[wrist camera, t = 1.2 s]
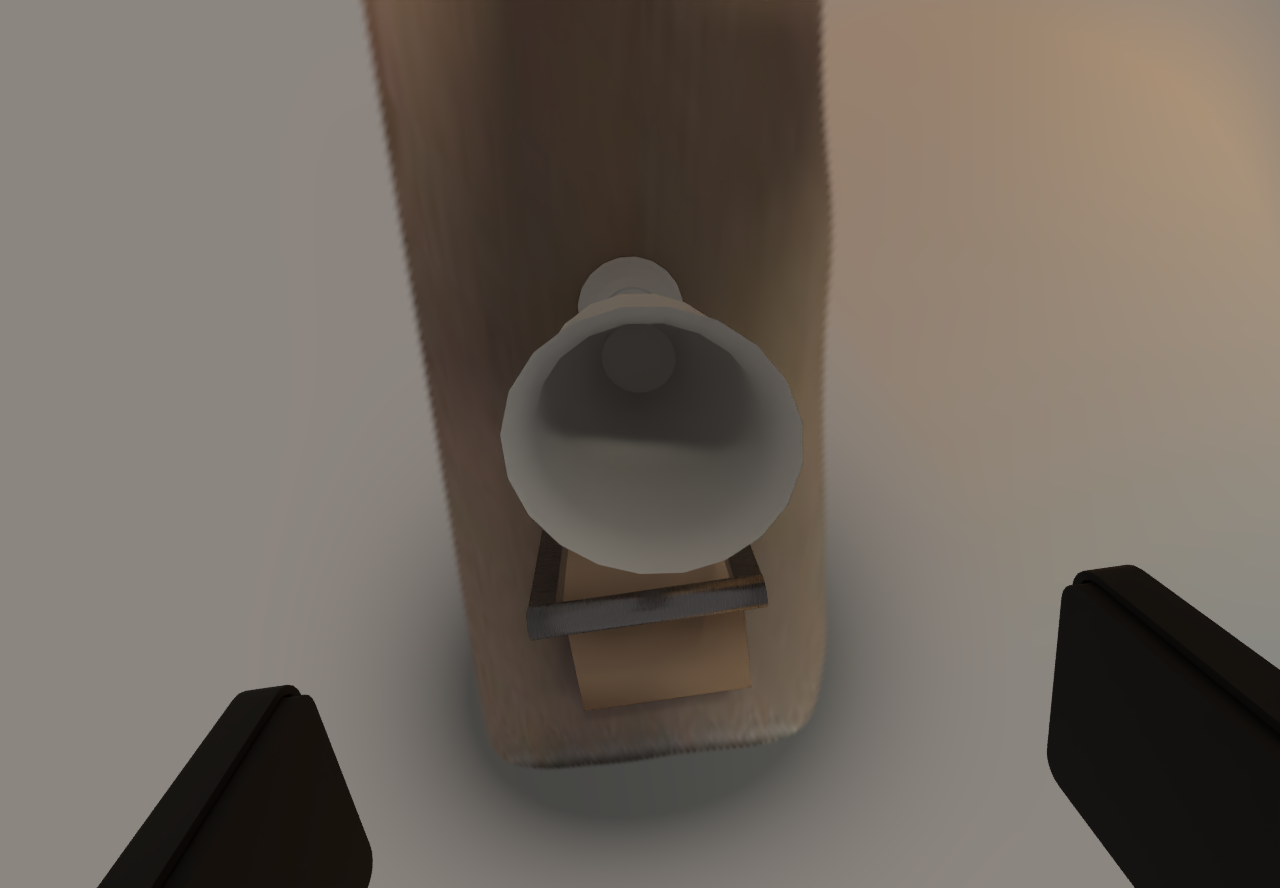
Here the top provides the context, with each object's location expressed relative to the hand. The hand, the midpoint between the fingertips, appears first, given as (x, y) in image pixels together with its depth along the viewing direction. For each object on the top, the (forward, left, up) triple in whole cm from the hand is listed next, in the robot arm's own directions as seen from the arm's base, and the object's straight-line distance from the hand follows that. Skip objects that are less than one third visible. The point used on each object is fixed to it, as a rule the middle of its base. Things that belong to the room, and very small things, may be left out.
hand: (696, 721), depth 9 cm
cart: (+14, -1, -27) cm, 30 cm away
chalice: (0, 0, -27) cm, 27 cm away
